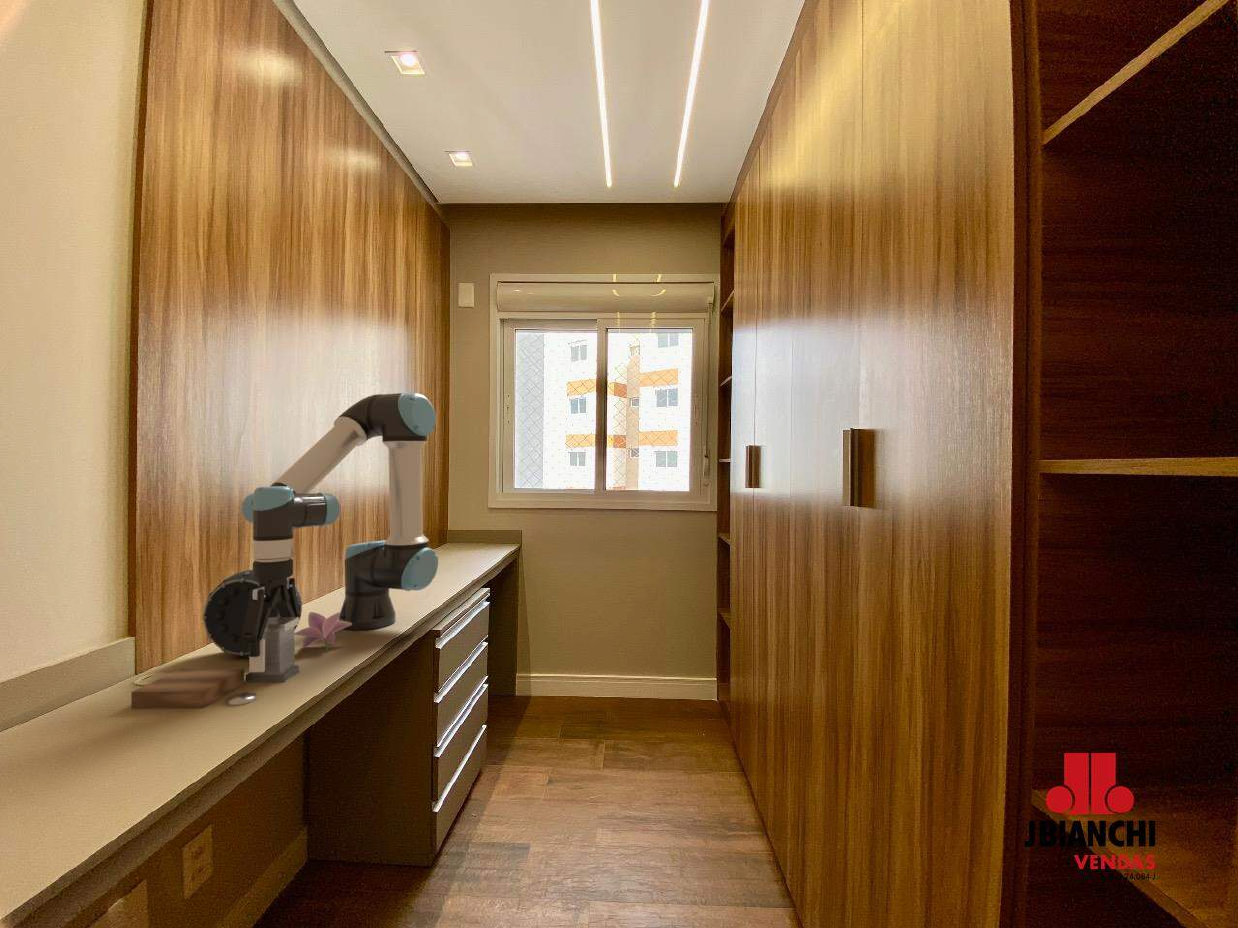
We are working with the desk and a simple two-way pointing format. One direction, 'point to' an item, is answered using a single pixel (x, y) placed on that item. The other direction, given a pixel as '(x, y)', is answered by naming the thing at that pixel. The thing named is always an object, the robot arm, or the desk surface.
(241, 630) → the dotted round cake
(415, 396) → the robot arm
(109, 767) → the desk surface
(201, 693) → the walnut stand
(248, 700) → the domed puck
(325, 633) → the lily
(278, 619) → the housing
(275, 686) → the desk surface
